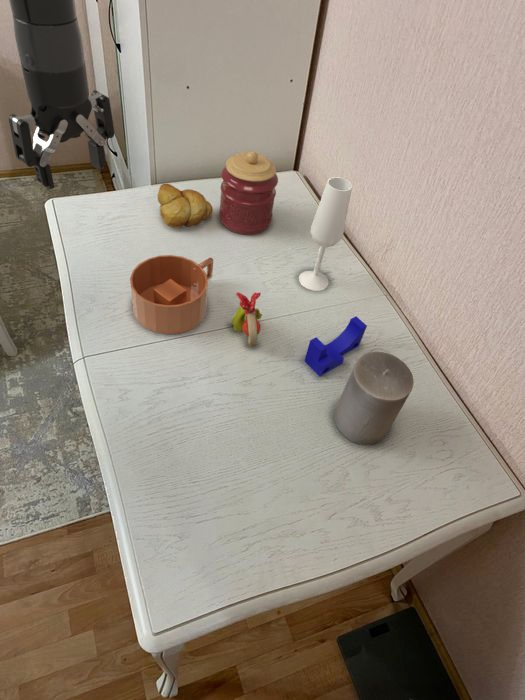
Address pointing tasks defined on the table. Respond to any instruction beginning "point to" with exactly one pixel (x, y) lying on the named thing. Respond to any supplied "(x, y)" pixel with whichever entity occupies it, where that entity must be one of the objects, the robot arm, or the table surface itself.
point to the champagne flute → (328, 227)
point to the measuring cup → (183, 274)
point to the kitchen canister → (247, 193)
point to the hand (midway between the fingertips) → (73, 176)
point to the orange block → (170, 294)
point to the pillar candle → (373, 397)
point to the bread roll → (182, 206)
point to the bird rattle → (248, 318)
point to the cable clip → (334, 348)
